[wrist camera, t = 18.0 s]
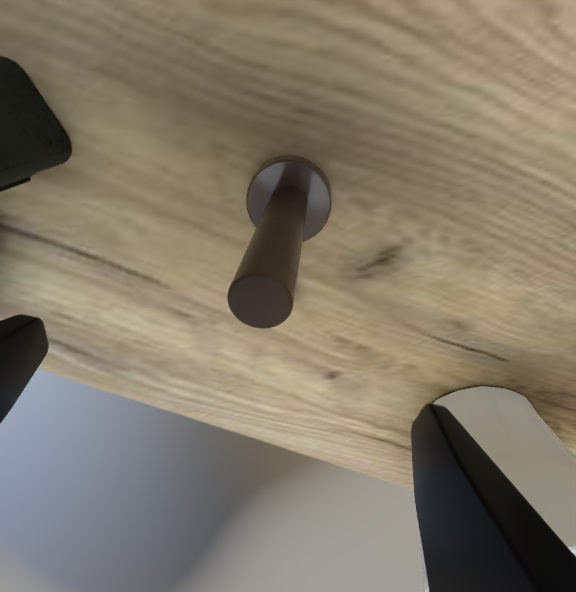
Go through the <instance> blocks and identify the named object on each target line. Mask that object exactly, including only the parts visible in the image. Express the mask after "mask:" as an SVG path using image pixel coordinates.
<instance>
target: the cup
mask: <svg viewBox="0 0 576 592" xmlns="http://www.w3.org/2000/svg"><path fill="white" fill-rule="evenodd" d="M433 404H437V405H441V406H445V407H446V408H447V409H448V410H449V411H450V412H451V413H452V414H453V415H454V416H455V418H456V419H457V420H458V421H459V422H460V423H461V425H462V426H463V427H464V428H465V429H466V430H467V431H468V433H469V434H470V435H471V436H472V437H473V438H474V440H475V441H476V442H477V443H478V444H479V445H480V446H481V448H482V449H483V450H484V451H485V452H486V453H487V455H488V456H489V457H490V458H491V459H492V460H493V462H494V463H495V464H496V465H497V466H498V467H499V468H500V470H501V471H502V472H503V473H504V474H505V475H506V477H507V478H508V479H509V480H510V481H511V482H512V484H513V485H514V486H515V487H516V488H517V489H518V490H519V492H520V493H521V494H522V495H523V496H524V497H525V499H526V500H527V501H528V502H529V503H530V504H531V505H532V507H533V508H534V509H535V510H536V511H537V512H538V514H539V515H540V516H541V517H542V518H543V519H544V521H545V522H546V523H547V524H548V525H549V526H550V527H551V529H552V530H553V531H554V532H555V533H556V534H557V536H558V537H559V538H560V539H561V540H562V541H563V543H564V544H565V545H566V546H567V547H568V548H569V549H570V551H571V552H572V553H573V554H574V555H575V556H576V456H575V455H574V454H573V453H572V452H571V451H570V450H569V449H568V448H567V446H566V445H565V444H564V443H563V442H562V441H561V440H560V439H559V438H558V436H557V435H556V434H555V433H554V432H553V431H552V430H551V429H550V428H549V426H548V425H547V424H546V423H545V422H544V421H543V420H542V419H541V418H540V416H539V415H538V414H537V413H536V411H535V409H534V408H533V406H532V405H531V403H530V402H529V401H528V400H527V399H526V397H525V396H523V395H521V394H518V393H516V392H514V391H511V390H508V389H505V388H497V387H486V386H480V387H473V388H468V389H463V390H458V391H455V392H453V393H450V394H448V395H446V396H443V397H441V398H439V399H437V400H436V401H435V402H434V403H433ZM420 540H421V536H420ZM421 555H422V569H423V583H424V592H429V586H428V580H427V574H426V568H425V561H424V555H423V549H422V542H421Z"/></svg>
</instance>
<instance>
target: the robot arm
mask: <svg viewBox="0 0 576 592" xmlns="http://www.w3.org/2000/svg"><path fill="white" fill-rule="evenodd" d="M48 348H49V343H48V339H47V335H46V331H45V327H44V323H43V321H42V320H41V319H40V318H38V317H33V316H29V315H23V314H21V315H16V316H13V317H10V318H8V319H5V320H2V321H0V423H1V422H2V420H3V419H4V418H5V417H6V415H7V414H8V412H9V411H10V410H11V408H12V407H13V405H14V404H15V402H16V401H17V399H18V397H19V396H20V395H21V393H22V391H23V390H24V388H25V387H26V385H27V384H28V382H29V381H30V379H31V378H32V376H33V374H34V373H35V371H36V370H37V368H38V367H39V365H40V364H41V362H42V360H43V359H44V357H45V356H46V354H47V352H48ZM411 442H412V461H413V479H414V493H415V503H416V511H417V517H418V522H419V529H420V536H421V542H422V549H423V555H424V561H425V568H426V574H427V580H428V586H429V592H576V556H575V555H574V554H573V553H572V552H571V551H570V549H569V548H568V547H567V546H566V545H565V544H564V543H563V541H562V540H561V539H560V538H559V537H558V536H557V534H556V533H555V532H554V531H553V530H552V529H551V527H550V526H549V525H548V524H547V523H546V522H545V521H544V519H543V518H542V517H541V516H540V515H539V514H538V512H537V511H536V510H535V509H534V508H533V507H532V505H531V504H530V503H529V502H528V501H527V500H526V499H525V497H524V496H523V495H522V494H521V493H520V492H519V490H518V489H517V488H516V487H515V486H514V485H513V484H512V482H511V481H510V480H509V479H508V478H507V477H506V475H505V474H504V473H503V472H502V471H501V470H500V468H499V467H498V466H497V465H496V464H495V463H494V462H493V460H492V459H491V458H490V457H489V456H488V455H487V453H486V452H485V451H484V450H483V449H482V448H481V446H480V445H479V444H478V443H477V442H476V441H475V440H474V438H473V437H472V436H471V435H470V434H469V433H468V431H467V430H466V429H465V428H464V427H463V426H462V425H461V423H460V422H459V421H458V420H457V419H456V418H455V416H454V415H453V414H452V413H451V412H450V411H449V410H448V409H447V408H446V407H445V406H441V405H437V404H432V403H428V404H426V405H425V406H424V407H423V409H422V410H421V412H420V413H419V415H418V416H417V418H416V419H415V421H414V423H413V425H412V428H411Z"/></svg>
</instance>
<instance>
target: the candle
mask: <svg viewBox="0 0 576 592" xmlns="http://www.w3.org/2000/svg"><path fill="white" fill-rule="evenodd" d="M70 154H71V144H70V141H69V138H68V136H67V134H66V132H65V131H64V129H63V128H62V126H61V125H60V123H59V122H58V120H57V119H56V117H55V116H54V115H53V113H52V112H51V110H50V109H49V107H48V106H47V104H46V103H45V101H44V100H43V98H42V97H41V95H40V94H39V92H38V91H37V90H36V88H35V87H34V85H33V84H32V82H31V81H30V79H29V78H28V76H27V75H26V74H25V72H24V71H23V70H22V69H21V68H20V67H19V66H18V65H17V64H16V63H15V62H13V61H11V60H10V59H8V58H5V57H1V56H0V192H1V191H4V190H6V189H9V188H12V187H15V186H17V185H20V184H23V183H26V182H28V181H30V180H31V179H30V176H32V175H33V174H35V173H37V172H39V171H42V170H45V169H48V168H51V167H54V166H56V165H59V164H62V163H64V162H66V161H67V160H68V158H69V157H70Z"/></svg>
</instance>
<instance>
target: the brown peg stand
mask: <svg viewBox="0 0 576 592" xmlns="http://www.w3.org/2000/svg"><path fill="white" fill-rule="evenodd" d="M246 201H247V210H248V213H249V216H250V219H251V221H252V222H253V224H254V225H255V227H256V230H255V232H254V235H253V237H252V239H251V241H250V243H249V246H248V248H247V250H246V252H245V254H244V257H243V259H242V261H241V263H240V266H239V268H238V270H237V272H236V274H235V277H234V279H233V281H232V283H231V286H230V288H229V290H228V296H227V298H228V304H229V307H230V309H231V311H232V313H233V314H234V315H235V317H236V318H238V319H239V320H240V321H241V322H243V323H245V324H247V325H249V326H252V327H256V328H271V327H275V326H277V325H279V324H281V323H282V322H284V321H285V320H286V319H287V318H288V317H289V315H290V314H291V311H292V308H293V302H294V295H295V289H296V282H297V275H298V268H299V261H300V254H301V248H302V242H304V241H306V240H308V239H310V238H312V237H314V236H315V235H316V234H317V233H319V231H320V230H321V229H322V228H323V227H324V225H325V224H326V222H327V220H328V217H329V214H330V210H331V192H330V187H329V184H328V181H327V179H326V177H325V175H324V174H323V172H322V171H321V170H320V169H319V168H318V167H317V166H316V165H315V164H313V163H312V162H310V161H308V160H306V159H304V158H301V157H297V156H282V157H278V158H275V159H273V160H271V161H269V162H267V163H266V164H265V165H263V166H262V167H261V168H260V169H259V171H258V172H257V174H256V175H255V176H254V178H253V179H252V181H251V183H250V185H249V188H248V192H247V199H246Z"/></svg>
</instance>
